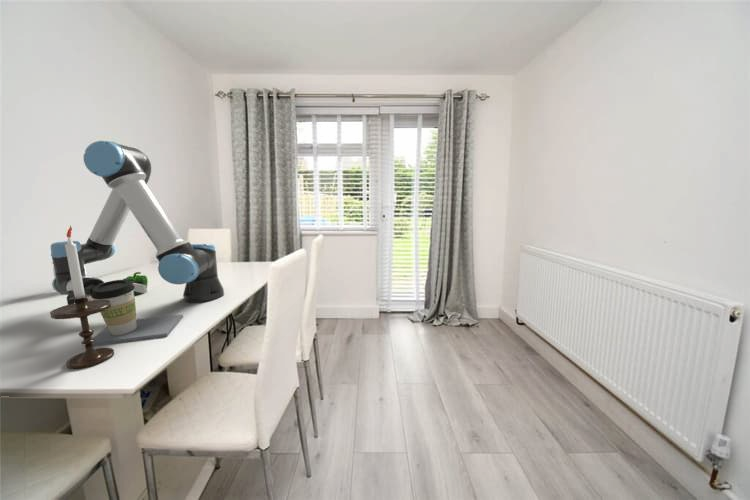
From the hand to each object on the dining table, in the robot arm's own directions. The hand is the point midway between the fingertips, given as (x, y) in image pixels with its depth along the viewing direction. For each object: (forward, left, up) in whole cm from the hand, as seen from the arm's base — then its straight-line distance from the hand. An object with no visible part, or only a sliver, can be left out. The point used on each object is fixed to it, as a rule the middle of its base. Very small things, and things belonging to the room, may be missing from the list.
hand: (122, 294), depth 94 cm
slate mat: (-5, +4, -11) cm, 13 cm away
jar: (+43, -57, -11) cm, 72 cm away
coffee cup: (-2, +6, -10) cm, 11 cm away
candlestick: (-1, +21, -11) cm, 24 cm away
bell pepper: (+13, -42, -11) cm, 45 cm away
